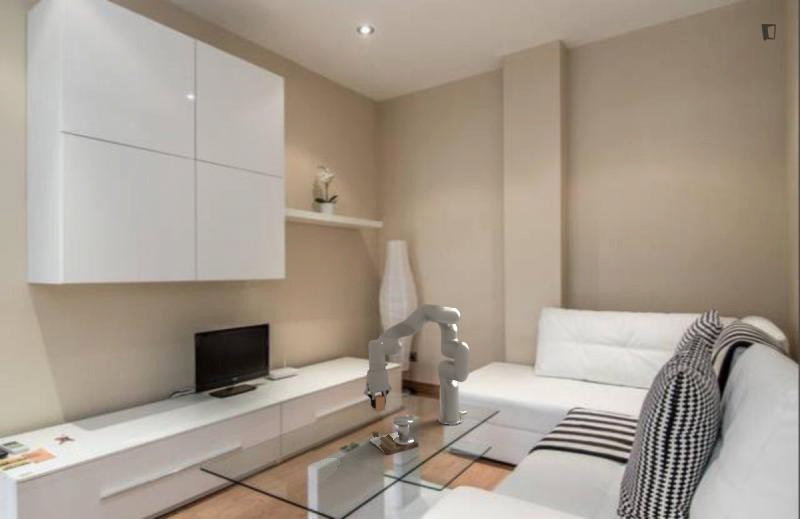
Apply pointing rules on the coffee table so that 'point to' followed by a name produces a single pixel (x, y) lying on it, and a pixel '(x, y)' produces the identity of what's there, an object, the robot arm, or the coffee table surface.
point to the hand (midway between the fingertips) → (378, 406)
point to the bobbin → (403, 431)
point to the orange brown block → (379, 403)
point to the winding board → (398, 448)
